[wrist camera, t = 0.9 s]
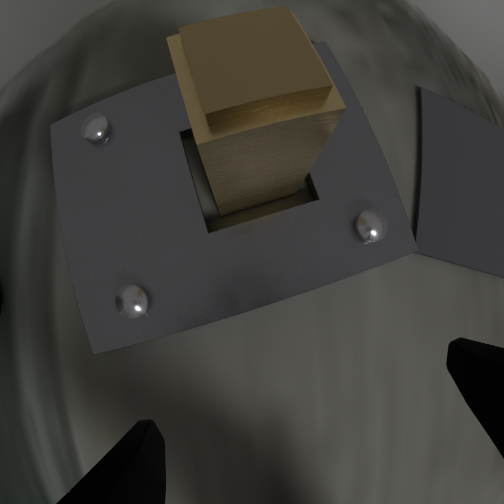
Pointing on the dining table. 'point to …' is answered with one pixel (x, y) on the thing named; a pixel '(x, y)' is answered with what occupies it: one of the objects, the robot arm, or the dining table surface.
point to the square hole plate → (193, 221)
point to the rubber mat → (460, 186)
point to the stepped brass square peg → (254, 103)
